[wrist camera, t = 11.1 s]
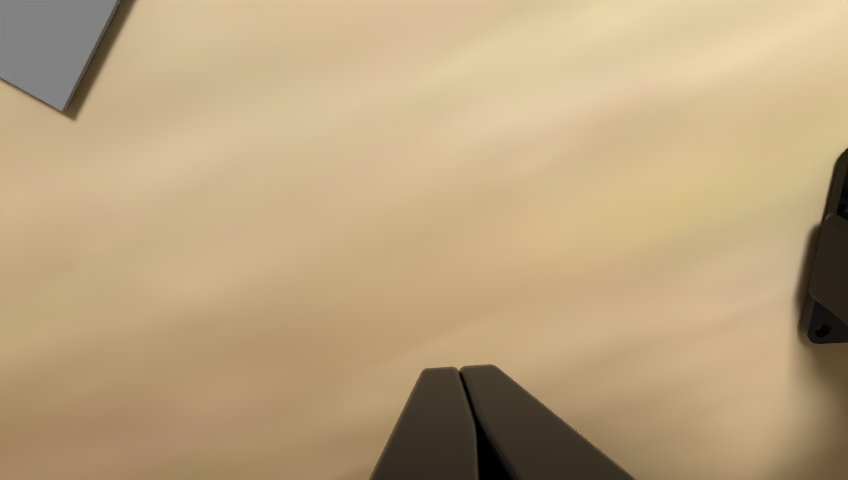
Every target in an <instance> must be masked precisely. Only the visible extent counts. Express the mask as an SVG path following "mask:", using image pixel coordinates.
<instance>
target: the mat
mask: <svg viewBox="0 0 848 480" xmlns="http://www.w3.org/2000/svg"><path fill="white" fill-rule="evenodd" d="M120 2H121V0H0V78H2V79H4V80H6V81H8V82H9V83H11V84H13V85H15V86H17V87H18V88H20V89H22V90H24V91H26V92H27V93H29V94H31V95H33V96H35V97H36V98H38V99H40V100H42V101H44V102H45V103H47V104H49V105H51V106H53V107H54V108H56V109H58V110H60V111H63V110H65V109H66V108H68V106H69V104H70V102H71V100H72V98H73V96H74V94H75V92H76V90H77V88H78V86H79V84H80V82H81V80H82V78H83V76H84V74H85V72H86V70H87V68H88V66H89V64H90V62H91V60H92V58H93V56H94V54H95V52H96V50H97V48H98V46H99V44H100V42H101V40H102V38H103V36H104V34H105V32H106V30H107V28H108V26H109V24H110V22H111V20H112V18H113V16H114V14H115V12H116V10H117V8H118V6H119V4H120Z"/></svg>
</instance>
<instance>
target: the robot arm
mask: <svg viewBox="0 0 848 480" xmlns="http://www.w3.org/2000/svg"><path fill="white" fill-rule="evenodd" d="M821 324H823V325H822V327H821V328H819V329H818V330H816V328H817V327H818V326H819V325H821ZM801 332H802V334H803V335H804V336H805V337H806V338H808V339H809V340H810V341H811V342H813V343H816V344H827V343H843V342H848V148H847V149H846V150H845V151H844V152H843V154H842V155H841V157H840V159H839V162H838V167H837V171H836V175H835V180H834V184H833V188H832V192H831V197H830V201H829V205H828V210H827V214H826V218H825V220H824V223H823V227H822V231H821V236H820V240H819V244H818V248H817V253H816V257H815V261H814V266H813V270H812V274H811V279H810V283H809V287H808V295H807V300H806V304H805V308H804V313H803V317H802V321H801ZM369 480H636V479H635V478H634V477H633V476H631V475H630V474H629V473H628V472H626V471H625V470H624V469H623V468H621V467H620V466H619V465H618V464H616V463H615V462H614V461H613V460H612V459H610V458H609V457H608V456H607V455H605V454H604V453H603V452H602V451H600V450H599V449H598V448H597V447H595V446H594V445H593V444H592V443H591V442H589V441H588V440H587V439H586V438H584V437H583V436H582V435H581V434H579V433H578V432H577V431H576V430H574V429H573V428H572V427H571V426H570V425H568V424H567V423H566V422H565V421H563V420H562V419H561V418H560V417H558V416H557V415H556V414H555V413H553V412H552V411H551V410H550V409H548V408H547V407H546V406H545V405H544V404H542V403H541V402H540V401H539V400H537V399H536V398H535V397H534V396H532V395H531V394H530V393H529V392H527V391H526V390H525V389H524V388H523V387H521V386H520V385H519V384H518V383H516V382H515V381H514V380H513V379H511V378H510V377H509V376H508V375H506V374H505V373H504V372H503V371H502V370H500V369H499V368H498V367H496V366H494V365H490V364H489V365H474V366H464V367H462V368H460V370H459V371H458V369H456V368H455V367H442V368H427V369H424V370H423V371H422V372H421V374H420V376H419V378H418V380H417V382H416V384H415V386H414V388H413V390H412V392H411V394H410V396H409V398H408V400H407V402H406V404H405V407H404V409H403V411H402V413H401V415H400V417H399V419H398V421H397V423H396V425H395V427H394V429H393V431H392V433H391V435H390V437H389V439H388V441H387V443H386V446H385V448H384V450H383V452H382V454H381V456H380V458H379V460H378V462H377V464H376V466H375V468H374V470H373V472H372V474H371V476H370V478H369Z"/></svg>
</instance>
